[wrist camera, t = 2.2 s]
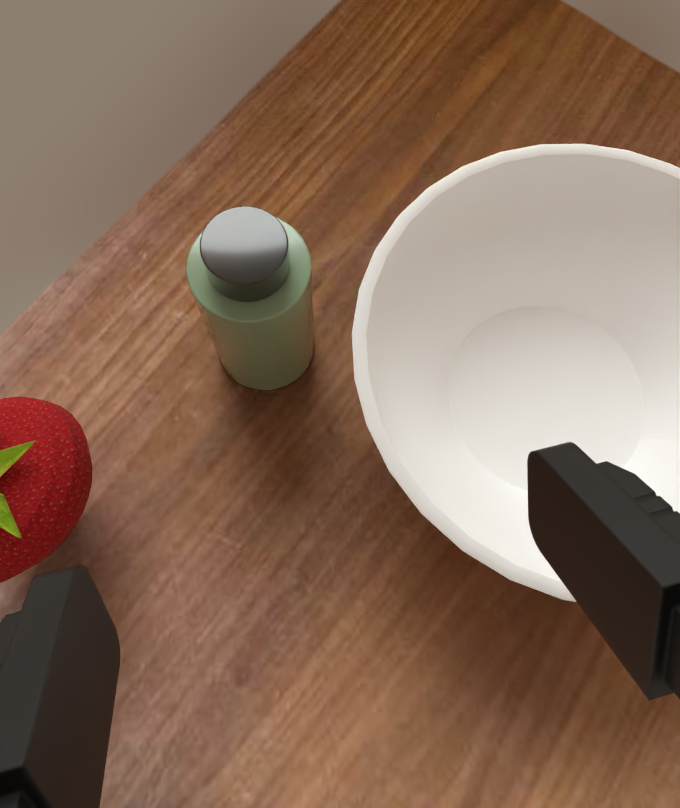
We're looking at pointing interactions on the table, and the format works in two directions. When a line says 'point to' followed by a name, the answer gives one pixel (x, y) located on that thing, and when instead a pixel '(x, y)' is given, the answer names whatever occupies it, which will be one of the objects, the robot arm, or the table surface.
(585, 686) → the table surface
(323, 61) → the table surface
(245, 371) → the pepper shaker
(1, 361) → the table surface
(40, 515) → the strawberry
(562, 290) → the bowl
